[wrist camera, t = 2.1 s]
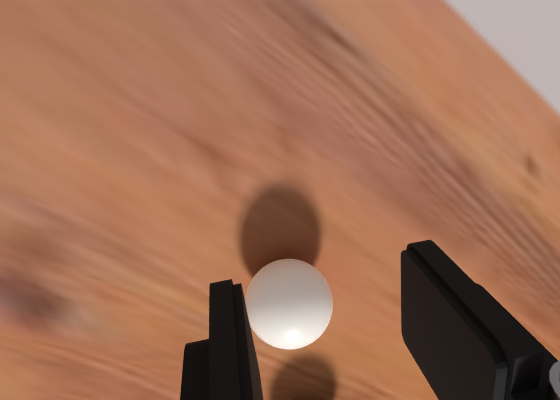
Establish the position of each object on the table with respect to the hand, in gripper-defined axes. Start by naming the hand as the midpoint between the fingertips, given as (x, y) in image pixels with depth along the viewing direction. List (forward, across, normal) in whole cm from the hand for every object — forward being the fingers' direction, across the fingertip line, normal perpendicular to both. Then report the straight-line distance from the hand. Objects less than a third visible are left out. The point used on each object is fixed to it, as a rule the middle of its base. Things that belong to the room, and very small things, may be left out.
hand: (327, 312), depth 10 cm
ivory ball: (+13, 0, +10) cm, 16 cm away
